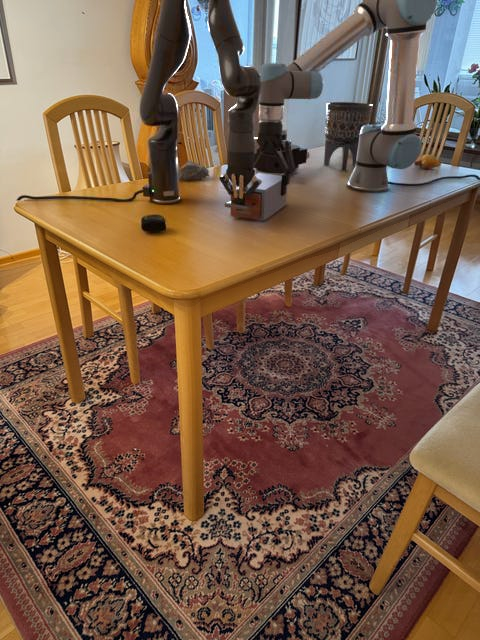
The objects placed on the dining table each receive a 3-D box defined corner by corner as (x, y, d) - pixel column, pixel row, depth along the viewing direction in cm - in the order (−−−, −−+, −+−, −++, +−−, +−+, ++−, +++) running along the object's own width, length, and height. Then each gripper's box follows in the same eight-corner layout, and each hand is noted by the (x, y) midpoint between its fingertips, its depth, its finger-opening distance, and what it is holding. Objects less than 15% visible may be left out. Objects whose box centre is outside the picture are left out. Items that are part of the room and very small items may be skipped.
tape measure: (141, 234, 126) (140, 221, 124) (142, 226, 132) (141, 214, 130) (166, 233, 127) (165, 220, 125) (166, 225, 133) (165, 213, 131)
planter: (313, 167, 208) (319, 103, 195) (331, 160, 222) (338, 101, 209) (353, 173, 199) (362, 107, 185) (369, 166, 213) (379, 104, 199)
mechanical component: (240, 120, 182) (283, 115, 202) (239, 174, 192) (280, 164, 212) (283, 126, 170) (325, 120, 190) (280, 183, 180) (320, 171, 200)
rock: (201, 174, 190) (201, 158, 187) (214, 178, 185) (214, 162, 181) (174, 179, 183) (173, 162, 179) (187, 183, 177) (186, 166, 174)
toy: (415, 162, 205) (409, 155, 218) (417, 175, 208) (411, 168, 221) (441, 154, 202) (433, 147, 215) (443, 168, 205) (435, 160, 218)
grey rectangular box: (263, 221, 139) (265, 189, 134) (232, 215, 143) (233, 185, 138) (285, 205, 155) (287, 176, 150) (257, 200, 158) (258, 172, 154)
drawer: (250, 225, 132) (251, 199, 128) (221, 220, 136) (221, 195, 132) (280, 204, 151) (281, 182, 147) (254, 201, 154) (255, 178, 151)
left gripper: (213, 148, 125) (214, 210, 134) (257, 153, 120) (255, 216, 129) (225, 144, 131) (225, 203, 139) (268, 148, 126) (265, 209, 135)
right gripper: (231, 119, 141) (231, 190, 152) (302, 124, 132) (296, 199, 144) (242, 116, 147) (240, 185, 158) (310, 122, 138) (303, 194, 149)
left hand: (239, 210), depth 134 cm, fingers closed
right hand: (267, 192), depth 151 cm, fingers closed on grey rectangular box, 11 cm apart
